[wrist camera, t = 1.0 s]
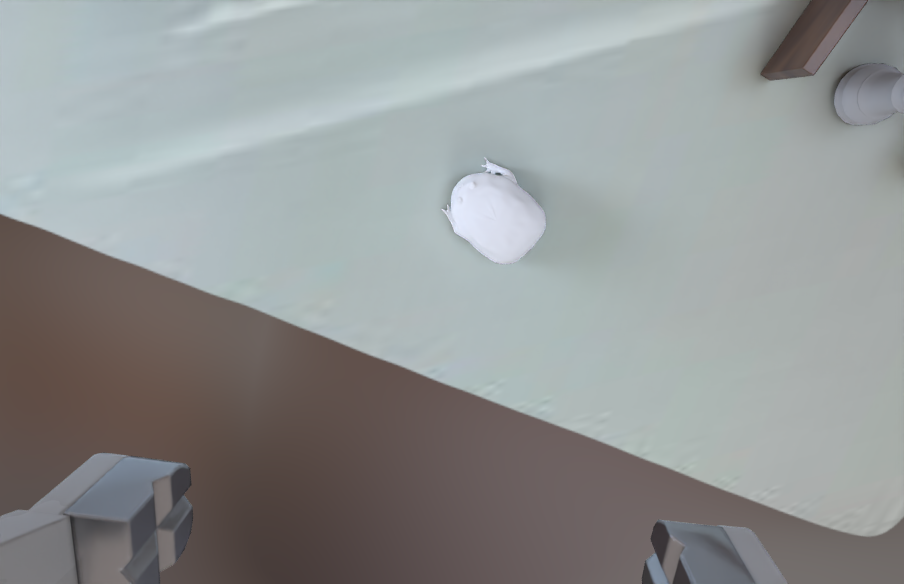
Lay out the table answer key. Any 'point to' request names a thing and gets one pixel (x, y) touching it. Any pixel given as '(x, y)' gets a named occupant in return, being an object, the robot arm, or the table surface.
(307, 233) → the table surface
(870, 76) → the rook chess piece
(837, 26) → the wooden enclosure
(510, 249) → the white frog figurine
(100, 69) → the table surface
